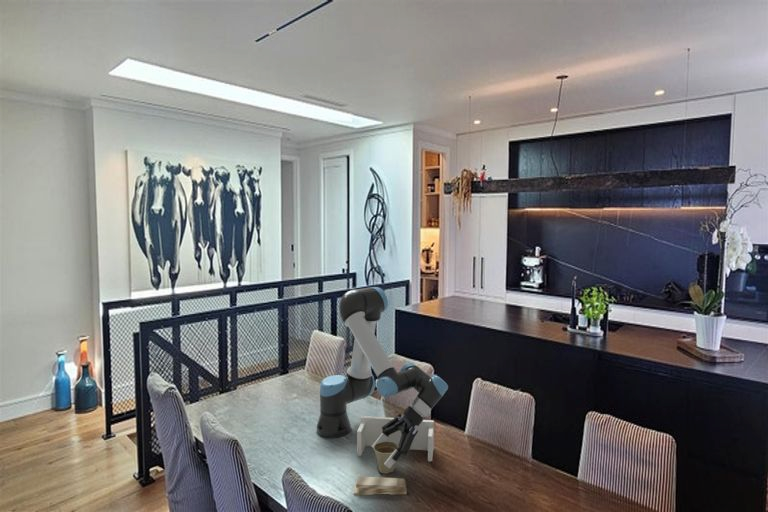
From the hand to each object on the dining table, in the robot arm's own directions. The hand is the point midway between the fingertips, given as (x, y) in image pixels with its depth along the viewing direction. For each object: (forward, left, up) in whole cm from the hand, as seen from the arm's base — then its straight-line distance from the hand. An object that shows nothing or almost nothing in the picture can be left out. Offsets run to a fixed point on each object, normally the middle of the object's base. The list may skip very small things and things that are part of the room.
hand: (380, 457), depth 167 cm
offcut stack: (+2, -12, -6) cm, 13 cm away
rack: (+4, +14, -5) cm, 16 cm away
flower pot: (+2, +1, -5) cm, 6 cm away
